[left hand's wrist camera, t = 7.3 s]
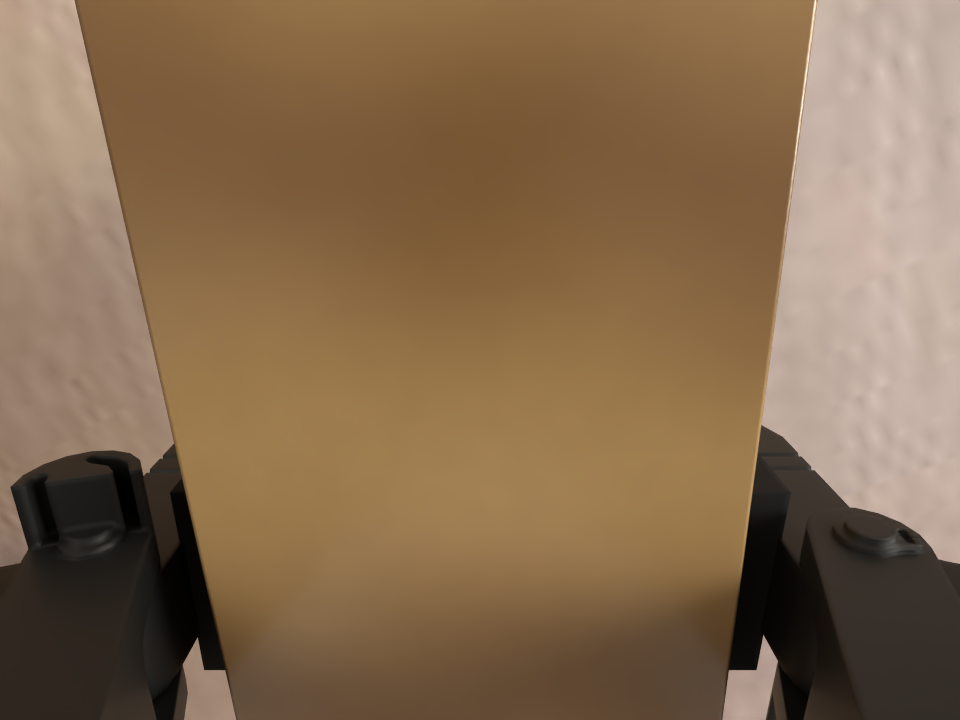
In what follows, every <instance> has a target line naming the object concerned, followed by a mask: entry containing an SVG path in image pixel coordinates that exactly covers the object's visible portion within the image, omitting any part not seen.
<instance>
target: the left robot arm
mask: <svg viewBox="0 0 960 720" xmlns="http://www.w3.org/2000/svg"><path fill="white" fill-rule="evenodd" d="M11 491H12V494H13V498H14V501H15V504H16V508H17V511H18V515H19V518H20V521H21V525H22V528H23V532H24V535H25V538H26V542H27V545H28V551H27V553H26V554H25V556H24V558H23V560H22V561H21V563H18V564H14V565H9V566H4V567H0V720H184V715H185V708H186V702H187V695H188V692H187V685H186V678H185V673H184V668H183V663H184V661H185V659H186V657H187V656H188V654H189V652H190V650H191V648H192V646H193V645H194V643H195V641H196V639H197V637H198V641H199V646H200V651H201V656H202V661H203V666H204V670H225V666H224V662H223V657H222V653H221V648H220V644H219V640H218V635H217V631H216V626H215V622H214V617H213V613H212V608H211V604H210V600H209V595H208V591H207V586H206V582H205V577H204V573H203V568H202V564H201V560H200V555H199V551H198V546H197V542H196V537H195V533H194V528H193V524H192V520H191V515H190V511H189V506H188V502H187V497H186V493H185V488H184V484H183V480H182V475H181V471H180V466H179V462H178V457H177V453H176V448H175V444H173V446H172V447H171V448H170V449H169V450H168V451H167V452H166V453H165V454H164V455H163V459H159V460H158V461H157V462H156V464H155V465H154V466H153V467H152V468H151V469H150V473H146V474H145V475H144V476H143V472H142V468H141V463H140V460H139V459H138V458H136V457H135V456H133V455H132V454H130V453H125V452H119V451H114V450H113V451H91V452H86V453H81V454H76V455H71V456H67V457H64V458H61V459H58V460H55V461H52V462H49V463H46V464H43V465H42V466H40V467H38V468H36V469H34V470H32V471H30V472H29V473H27V474H25V475H23V476H22V477H21V478H20V479H19V480H18V481H17V482H16V483H14V484H13V485H12V486H11ZM763 634H764V636H765V638H766V640H767V642H768V644H769V645H770V647H771V649H772V651H773V653H774V655H775V656H776V658H777V660H778V664H777V668H776V673H775V678H774V683H773V688H772V692H771V697H770V702H769V707H768V712H767V716H766V720H960V564H957V563H952V562H947V561H943V560H938V558H937V557H936V555H935V553H934V551H933V550H932V548H931V547H930V546H929V545H928V543H927V542H926V541H925V540H924V539H923V538H922V537H921V536H920V535H919V534H918V533H916V532H915V531H913V530H912V529H910V528H908V527H907V526H905V525H904V524H902V523H901V522H898V521H896V520H893V519H891V518H888V517H886V516H883V515H881V514H879V513H874V512H870V511H866V510H862V509H857V508H850V507H849V506H848V505H847V504H846V503H845V502H844V501H843V500H842V499H841V498H840V497H839V496H838V495H837V494H836V493H835V492H834V490H833V489H832V488H831V487H830V486H829V485H828V484H827V483H826V482H825V481H824V480H823V479H822V478H821V477H820V476H819V475H818V474H817V473H816V472H815V470H811V466H810V465H809V464H808V463H807V462H806V461H805V460H804V459H803V458H802V457H798V453H797V451H796V450H795V449H794V448H793V447H792V446H791V445H790V444H789V443H788V442H787V441H786V440H785V439H784V438H783V437H782V436H780V435H778V434H776V433H775V432H773V431H771V430H769V429H767V428H765V427H764V426H762V425H761V431H760V438H759V446H758V453H757V461H756V468H755V476H754V483H753V491H752V498H751V506H750V514H749V521H748V529H747V536H746V544H745V551H744V559H743V566H742V574H741V581H740V589H739V597H738V604H737V612H736V619H735V627H734V634H733V642H732V649H731V657H730V664H729V670H756V669H757V664H758V659H759V654H760V649H761V644H762V639H763Z"/></svg>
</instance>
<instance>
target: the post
mask: <svg viewBox="0 0 960 720" xmlns="http://www.w3.org/2000/svg"><path fill="white" fill-rule="evenodd" d="M75 4H76V8H77V13H78V17H79V22H80V26H81V31H82V35H83V39H84V44H85V48H86V53H87V57H88V62H89V66H90V71H91V75H92V79H93V84H94V88H95V93H96V97H97V102H98V106H99V111H100V115H101V119H102V124H103V128H104V133H105V137H106V142H107V146H108V151H109V155H110V159H111V164H112V168H113V173H114V177H115V182H116V186H117V191H118V195H119V199H120V204H121V208H122V213H123V217H124V222H125V226H126V231H127V235H128V239H129V244H130V248H131V253H132V257H133V262H134V266H135V271H136V275H137V279H138V284H139V288H140V293H141V297H142V302H143V306H144V311H145V315H146V320H147V324H148V328H149V333H150V337H151V342H152V346H153V351H154V355H155V360H156V364H157V368H158V373H159V377H160V382H161V386H162V391H163V395H164V400H165V404H166V408H167V413H168V417H169V422H170V426H171V431H172V435H173V440H174V444H175V448H176V453H177V457H178V462H179V466H180V471H181V475H182V480H183V484H184V488H185V493H186V497H187V502H188V506H189V511H190V515H191V520H192V524H193V528H194V533H195V537H196V542H197V546H198V551H199V555H200V560H201V564H202V568H203V573H204V577H205V582H206V586H207V591H208V595H209V600H210V604H211V608H212V613H213V617H214V622H215V626H216V631H217V635H218V640H219V644H220V648H221V653H222V657H223V662H224V666H225V671H226V675H227V680H228V684H229V688H230V693H231V697H232V702H233V706H234V711H235V715H236V720H722V717H723V710H724V702H725V695H726V687H727V680H728V672H729V664H730V657H731V649H732V642H733V634H734V627H735V619H736V612H737V604H738V597H739V589H740V581H741V574H742V566H743V559H744V551H745V544H746V536H747V529H748V521H749V514H750V506H751V498H752V491H753V483H754V476H755V468H756V461H757V453H758V446H759V438H760V431H761V423H762V415H763V408H764V400H765V393H766V385H767V378H768V370H769V363H770V355H771V348H772V340H773V332H774V325H775V317H776V310H777V302H778V295H779V287H780V280H781V272H782V265H783V257H784V249H785V242H786V234H787V227H788V219H789V212H790V204H791V197H792V189H793V182H794V174H795V166H796V159H797V151H798V144H799V136H800V129H801V121H802V114H803V106H804V98H805V91H806V83H807V76H808V68H809V61H810V53H811V46H812V38H813V31H814V23H815V15H816V8H817V0H75Z"/></svg>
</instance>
